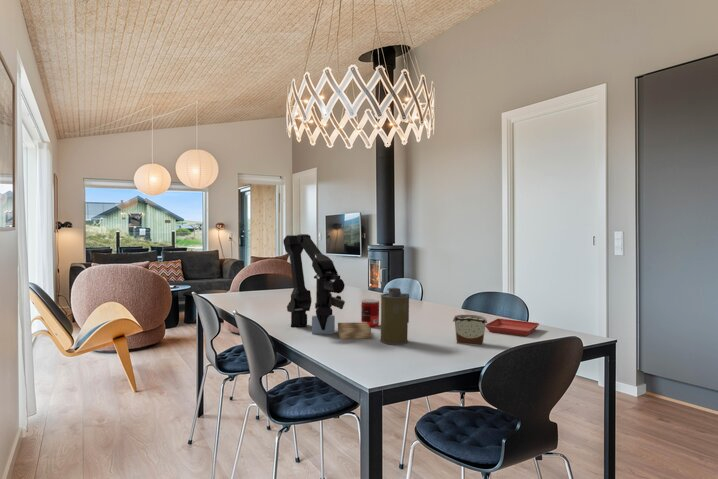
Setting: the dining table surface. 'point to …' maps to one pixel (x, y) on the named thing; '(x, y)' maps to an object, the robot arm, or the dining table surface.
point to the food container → (470, 329)
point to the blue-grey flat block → (328, 329)
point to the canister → (394, 317)
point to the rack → (354, 330)
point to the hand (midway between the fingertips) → (323, 329)
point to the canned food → (370, 312)
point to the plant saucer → (511, 327)
